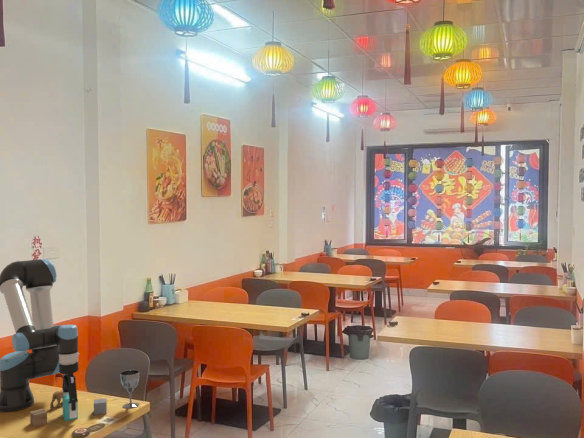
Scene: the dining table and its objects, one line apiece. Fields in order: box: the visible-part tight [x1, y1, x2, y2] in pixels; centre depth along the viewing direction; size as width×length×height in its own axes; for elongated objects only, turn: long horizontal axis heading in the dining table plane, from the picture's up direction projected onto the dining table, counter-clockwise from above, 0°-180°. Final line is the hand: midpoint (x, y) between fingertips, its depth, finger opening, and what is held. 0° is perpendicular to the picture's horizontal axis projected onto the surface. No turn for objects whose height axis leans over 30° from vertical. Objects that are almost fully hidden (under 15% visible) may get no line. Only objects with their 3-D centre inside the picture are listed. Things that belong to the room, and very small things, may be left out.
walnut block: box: [29, 408, 48, 428], centre depth 222 cm, size 5×5×5 cm
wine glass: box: [120, 369, 140, 410], centre depth 240 cm, size 8×8×15 cm
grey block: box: [93, 397, 108, 416], centre depth 233 cm, size 5×5×5 cm
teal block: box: [61, 395, 79, 422], centre depth 227 cm, size 5×5×9 cm
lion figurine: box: [49, 389, 64, 410], centre depth 243 cm, size 15×5×9 cm, turn 172°
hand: (70, 412), depth 227 cm, fingers open, 13 cm apart
